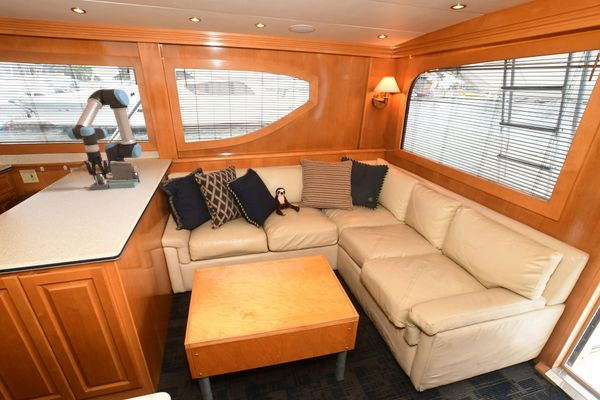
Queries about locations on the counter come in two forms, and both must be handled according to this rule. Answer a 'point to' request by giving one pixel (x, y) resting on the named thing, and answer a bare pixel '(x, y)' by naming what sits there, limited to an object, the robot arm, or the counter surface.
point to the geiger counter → (122, 170)
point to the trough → (123, 184)
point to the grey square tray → (101, 186)
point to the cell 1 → (99, 178)
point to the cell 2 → (135, 175)
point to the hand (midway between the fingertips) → (101, 183)
